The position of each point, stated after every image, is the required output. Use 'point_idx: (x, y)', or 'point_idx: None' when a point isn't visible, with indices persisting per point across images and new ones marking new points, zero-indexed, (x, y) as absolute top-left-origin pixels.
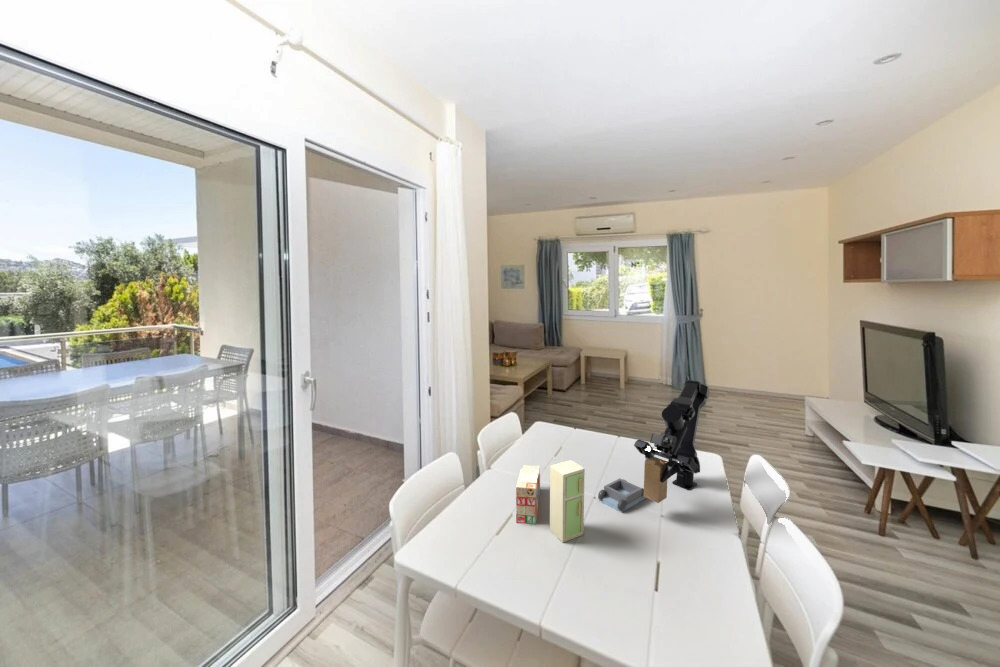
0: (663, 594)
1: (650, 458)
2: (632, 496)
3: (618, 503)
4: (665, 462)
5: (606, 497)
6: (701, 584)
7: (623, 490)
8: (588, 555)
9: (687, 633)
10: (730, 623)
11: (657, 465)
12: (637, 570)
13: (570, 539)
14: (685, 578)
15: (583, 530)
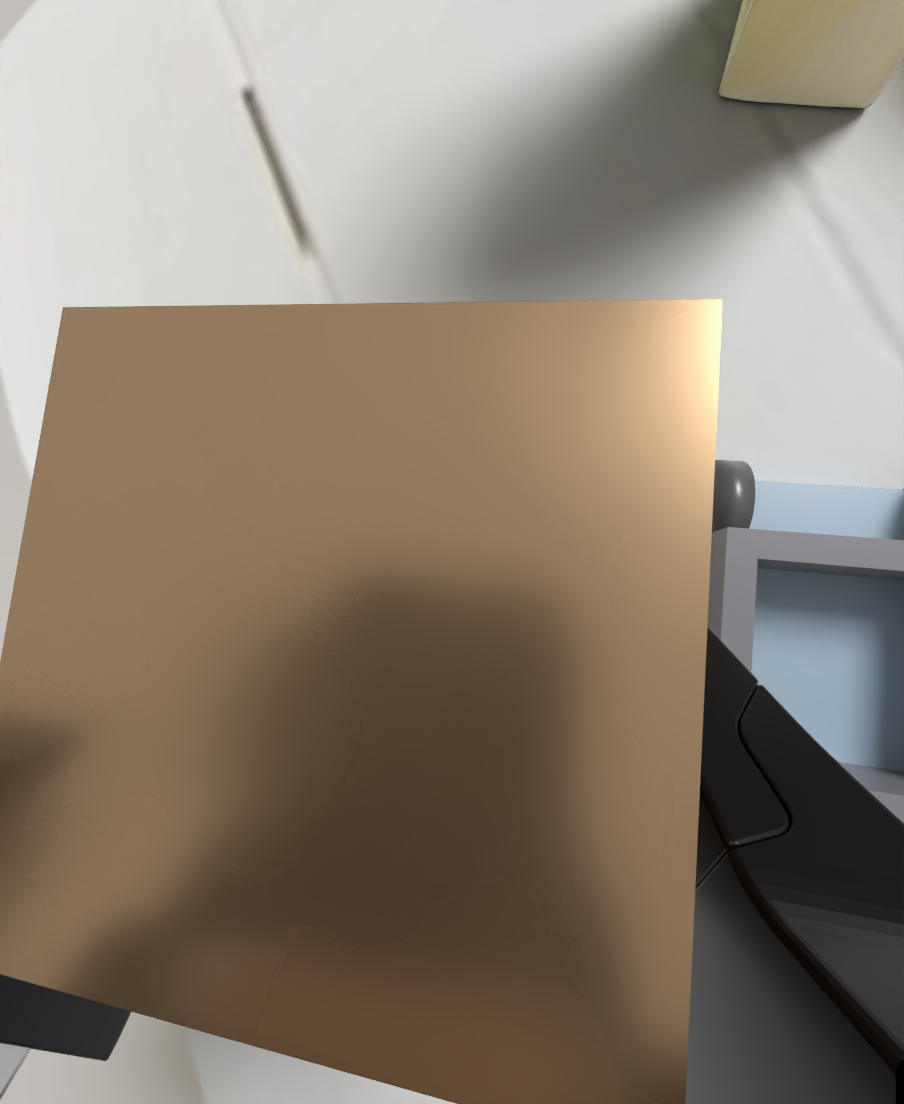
0: (218, 97)
1: (656, 754)
2: (710, 626)
3: (742, 463)
4: (5, 802)
5: (898, 529)
6: (128, 268)
7: (864, 752)
8: (580, 6)
9: (103, 21)
10: (15, 172)
11: (143, 317)
12: (351, 122)
13: (741, 4)
14: (184, 248)
15: (728, 64)
